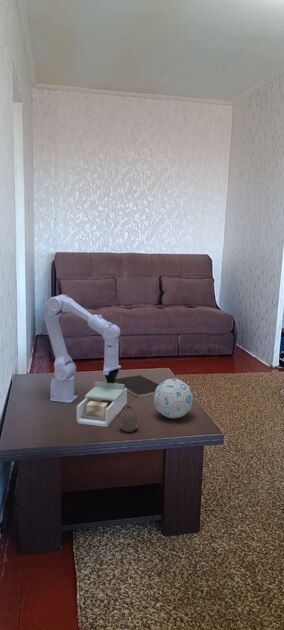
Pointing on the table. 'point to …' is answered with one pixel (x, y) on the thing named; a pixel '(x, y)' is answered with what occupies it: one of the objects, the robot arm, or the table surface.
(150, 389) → the hardcover book
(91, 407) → the tan rectangular block
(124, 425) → the vase
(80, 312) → the robot arm
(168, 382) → the puzzle ball
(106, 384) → the lid
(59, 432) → the table surface
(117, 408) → the housing
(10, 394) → the table surface
